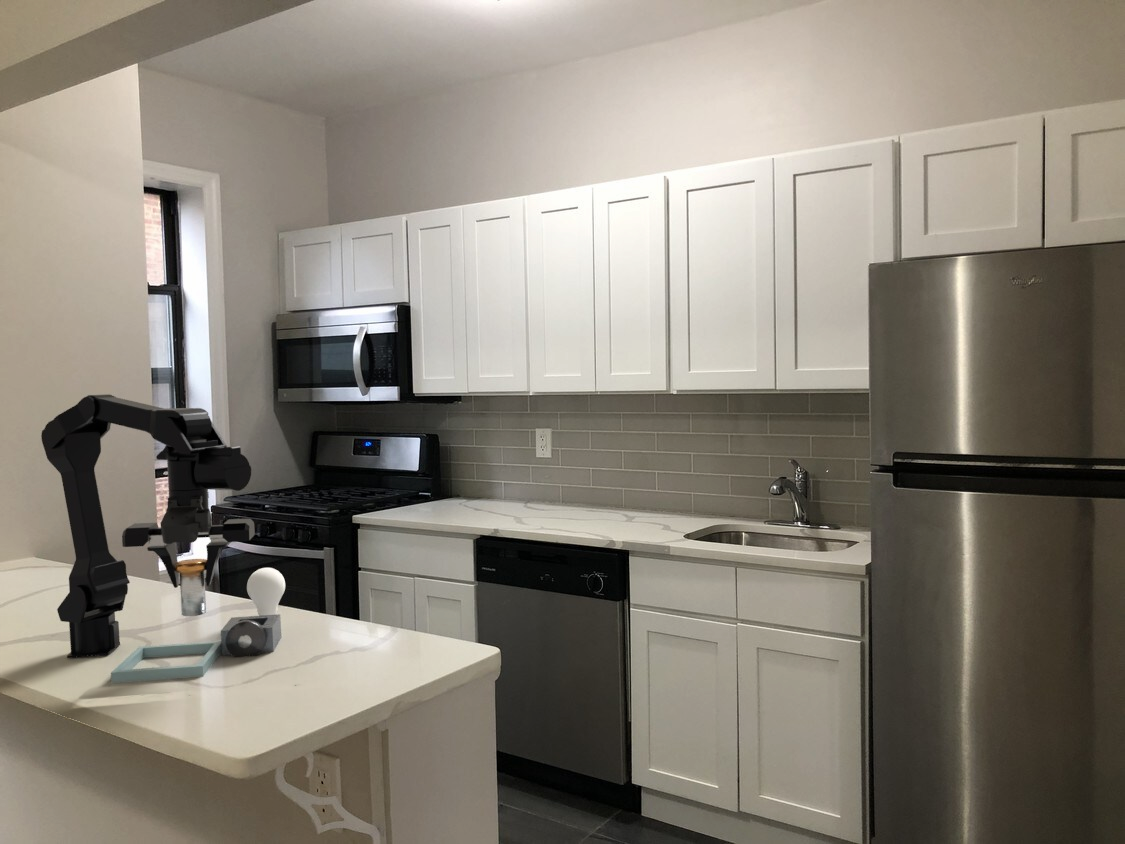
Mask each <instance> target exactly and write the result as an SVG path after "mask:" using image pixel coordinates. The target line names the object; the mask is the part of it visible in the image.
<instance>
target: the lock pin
mask: <svg viewBox="0 0 1125 844" xmlns="http://www.w3.org/2000/svg"><path fill="white" fill-rule="evenodd" d="M206 567H207V558H206V559H205V558H190V559H183V560H180V561H177V562H176V563H175V571H176V572H178V573H179V585H180V586H179V587H180V607H181V616H183V617H197V616H201V615H205V614H206V613H207V603H206V601H207V600H206V598H207V597H206V575H205V571H206Z"/></svg>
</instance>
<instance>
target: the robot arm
mask: <svg viewBox="0 0 1125 844" xmlns="http://www.w3.org/2000/svg"><path fill="white" fill-rule="evenodd" d="M112 424H113V425H117V426H121V427H126V428H129V429H133V430H137V431H138V430H139V431H142V432H145V433H147V434H149V435H150V436H151V438H152V439H153V440H154V441H157V442H159V443H160V444H163V445H164V449H162V450H161V451H159V452H158V453H157V454H156V457H155V458H156V460H159V461H166V462H167V465H166V466H167V484H168V488H167V489H168V497H167V506H166V507H167V508H166V511H165V513H164V515H163V517H162V519H161V521H160V527H159V525H158V522H142V523H141V522H139V523H133V524H131V525H129V526H128V527H126V528H125V529H124V530H123V532H122V534H121V541H122V542H121V544H122V547H123V548H134V547H135V548H136V547H144V546H145V545H147V543H148V546H147V547H146V549H147V551H148V552H154V553H155V554H156V555H157V556H158V557H159V559H160V560H161V561H162V563H163V566H164V568H165V569H166V572H167V574H168V577H169V579H170V581H171V583H172V586H173V588H176V589H177V588H178V587H179V585H180V573H178V572H176V571H175V563H176V562H178V555H177V554H178V552H177V551H178V550H177V543H184V544H191V543H194V542H196V541H197V540H198V539H201V538H209V540H210V542H208V544H206V546H205V547H206V554H207V555H206V556H207V557H206V560H207V567H206V570H205V586H206V587H209V586H211V583H212V580H213V578H214V574H215V571H216V568H217V565H218V561H219V559H220V556H221V554H222V552H223V550H224V549H225V548H227V547H228V546H229V545H230V544H231V543H237V542H248V541H249V542H250V541H251V539H252V538H254V536H255V533H256V532H255V531H256V529H255V522H254V521H253V520H252V518H235V519H234V518H233V519H232V518H231V519H227V520H226V521H225V522H224V523H223V524H213V521H212V520H213V519H212V518H213V517H212V514H211V511H210V508H209V497H210V496H209V495H210V494H209V493H210V492H209V491H210V490H212V491H213V490H214V491H215V490H216V491H232V492H233V491H234V492H238V491H242V490H244V489H245V488H246V487H247V485H249V483H250V480H251V477H252V467H251V465H250V463H249V460H248V458H247V457H246V456H245V455H244V454H242V449H241V446H240V445H233V446H232V445H231V446H227V444H226V442H225V440H224V439H223V437H222V436H221V434H220V432H219V431H218V430H217V428H216V426H215V424H214V423H213V421H212V420H211V417H210V416H209V412H208V411H207V410H206V409H203V408H200V407H182V408H181V407H179V408H177V407H176V408H175V407H172V408H171V407H170V408H164V407H159V406H155V405H151V404H146V403H142V402H138V401H133V400H130V399H129V400H128V399H124V398H121V397H117V396H115V395H112V394H88V395H86V396H84V397H83V398H81V399H80V400H79V401H78V402H77V403H76V404H75V405H74V406H71V407H70V408H68V409H66V410H63V412H61V413H59V414H57V415H56V416H55V417H54V418H53V419H52V420H50V421H48V423H46V424H45V427H44V428H43V430H42V431H41V436H40V437H41V443H42V446H43V449H44V452H45V456H46V459H47V461H49V463H50V464H51V465H52V466H53V467H54V469H55V470H57V472H58V473H59V474H60V477H61V482H62V487H63V493H64V499H65V504H66V511H67V515H68V521H69V526H70V531H71V537H72V544H73V549H74V555H75V560H74V563H73V566H72V568H71V571H70V573H69V575H68V586H69V588H68V589H69V592H68V594H67V595H66V596H65V597H64V599H63V601H62V602H61V603H59V604H60V605H59V606H58V607H57V609H56V611H57V614H58V617H59V620H60V622H64V623H69V624H68V625H69V626H68V628H69V642H70V644H69V645H70V652H69V653H68V654H67V655H66V659H74V658H89V657H102V656H104V657H105V656H109V655H110V654H111V653H113V652H114V651H115V650H116V649H117V648H118V647H119V646H121V642H120V627H119V625H120V624H119V620H116V614H115V613H116V612H121V611H123V608H124V606H125V602H126V601H125V600H126V596H127V594H128V591H129V586H128V584H130V580H129V578H128V575H127V564H126V563H125V560H121V559H120V560H117V558H115V557H114V556H113V555H112V554H111V552H110V549H109V543H108V538H107V532H106V527H105V523H104V516H103V511H102V505H101V499H100V495H99V489H98V483H97V478H96V471H95V468H96V465H97V463H98V459H99V458H100V456H101V453H102V444H101V442H102V440H101V439H103V437H105V436H106V434H107V433H108V432H110V430H111V425H112Z"/></svg>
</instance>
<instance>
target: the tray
mask: <svg viewBox="0 0 1125 844" xmlns="http://www.w3.org/2000/svg"><path fill="white" fill-rule="evenodd" d="M199 654H205V655H203V657H202V659H200V661H199V662H198V663H197V664H188V665H187V664H186V665H172V666H158V667H146V668H135V667H136V666H137V665H138V664H139V663H140V662H141V661H142V660H143V659H144V658H155V657H156V658H157V657H169V656H171V657H172V656H183V655H186V656H187V655H199ZM221 655H222V645H221V640H217V641H202V642H201V641H199V642H187V643H186V642H185V643H175V644H171V643H170V644H158V645H157V644H156V645H144V646H143V645H142V646H138V647H137V648H136V649H134V650H133V652H131V653H130V654H129V655H128V656H127V657H126V658H125V659H124V660H123V661H122V662H121V663H119V664H118V665H117V667H115V668H114V669H113V670H112V671H111V672H110V679H111V680H110V681H111V684H117V683H129V682H130V683H131V682H133V683H134V682H144V681H146V682H147V681H157V680H158V681H159V680H168V679H169V680H171V679H185V678H199V677H204V676H205V675H206V673H208V671H209V669H210V668H211V667H212V665H213V664H214V663H215V661H216V660H217V659H218V658H219V656H221Z"/></svg>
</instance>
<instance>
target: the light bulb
mask: <svg viewBox="0 0 1125 844" xmlns="http://www.w3.org/2000/svg"><path fill="white" fill-rule="evenodd" d="M285 590H286V581H285V578H284V576H283V574H282V573H281V572H280V571H279V570H277V569H275V568H273V567H262V568H258V569H257V570H256V571H253V573H252V574H251V575H250V576H249V578H248V580H247V584H246V591H247V594H248V596H249V598H250V599H251V601H252V602H253V604H254V605H255V608H256V609H257V611H256V612H257V616H263V615H277V613H278V608H279V607H278V606H279V603H280V601H281V599H282V597H283V595H284V593H285Z"/></svg>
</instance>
